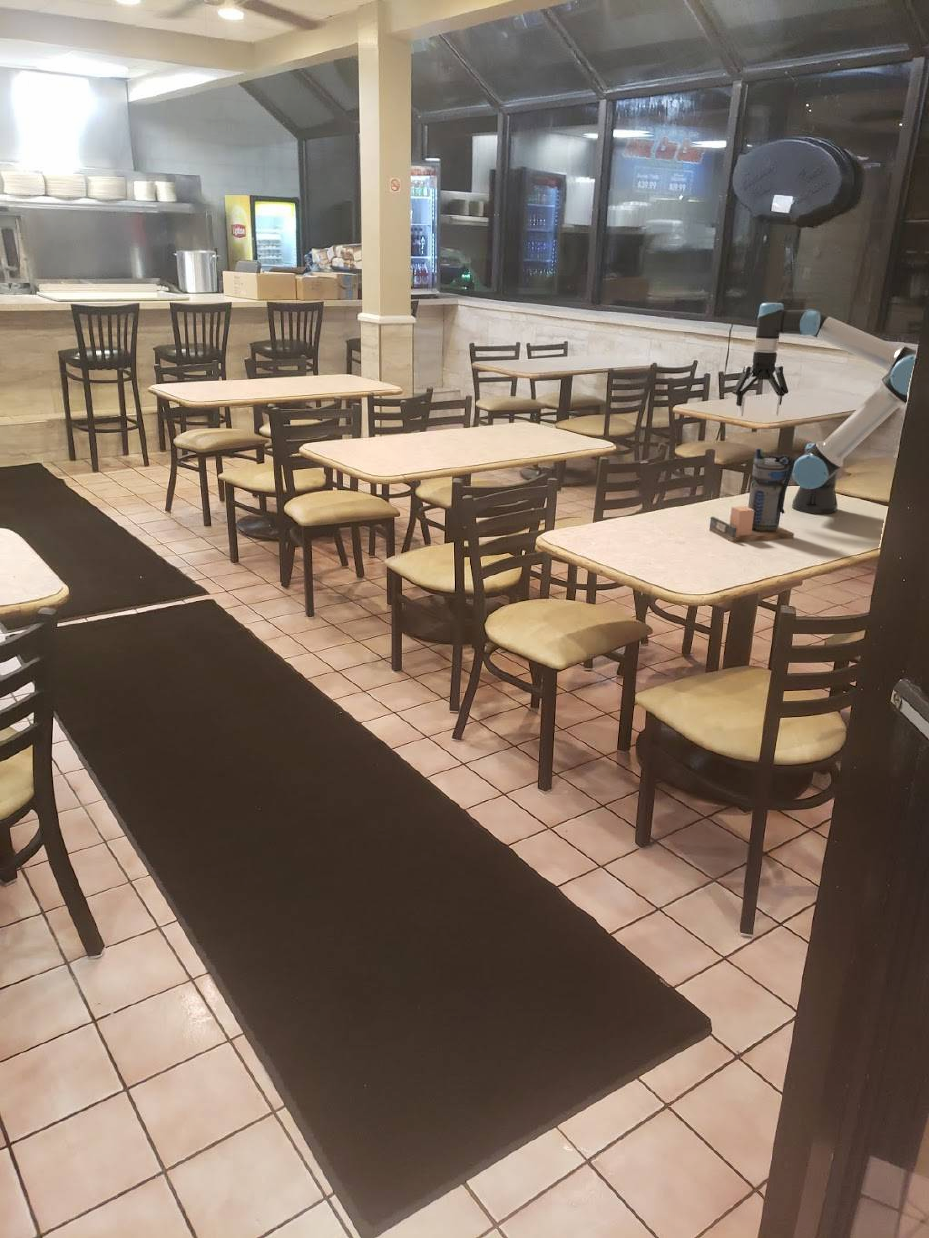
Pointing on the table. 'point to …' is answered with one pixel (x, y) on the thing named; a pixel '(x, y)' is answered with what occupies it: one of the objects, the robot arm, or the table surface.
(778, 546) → the table surface
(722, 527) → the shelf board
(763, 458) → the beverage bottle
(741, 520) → the carton block
